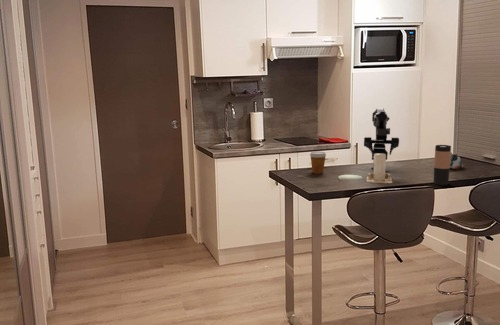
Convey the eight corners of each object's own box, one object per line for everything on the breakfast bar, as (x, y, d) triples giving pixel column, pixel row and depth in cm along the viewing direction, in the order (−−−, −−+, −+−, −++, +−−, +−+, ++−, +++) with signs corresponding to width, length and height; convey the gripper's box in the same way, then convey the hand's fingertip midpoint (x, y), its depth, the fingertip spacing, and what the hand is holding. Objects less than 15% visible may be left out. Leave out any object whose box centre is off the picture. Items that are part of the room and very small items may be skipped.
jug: (373, 178, 258) (374, 153, 255) (384, 178, 256) (385, 153, 254) (373, 181, 250) (374, 155, 247) (385, 182, 248) (386, 156, 246)
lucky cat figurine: (464, 170, 280) (456, 150, 276) (443, 176, 286) (435, 157, 282) (461, 158, 293) (453, 139, 289) (441, 165, 299) (433, 146, 294)
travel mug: (430, 182, 252) (432, 145, 248) (444, 181, 252) (446, 144, 249) (437, 185, 244) (439, 147, 240) (451, 184, 245) (454, 146, 241)
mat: (334, 177, 266) (334, 175, 265) (354, 175, 270) (354, 173, 270) (346, 182, 254) (346, 180, 253) (366, 180, 258) (367, 178, 258)
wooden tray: (366, 178, 262) (367, 172, 261) (391, 179, 259) (391, 173, 258) (366, 183, 250) (366, 177, 249) (392, 185, 246) (392, 178, 246)
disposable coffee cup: (315, 175, 273) (316, 154, 271) (306, 172, 281) (306, 152, 279) (329, 173, 277) (329, 153, 275) (319, 170, 286) (319, 150, 283)
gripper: (364, 122, 263) (364, 145, 254) (399, 123, 259) (400, 146, 250) (364, 134, 272) (363, 157, 264) (397, 135, 268) (398, 158, 260)
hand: (381, 154), depth 259 cm, fingers open, 9 cm apart
